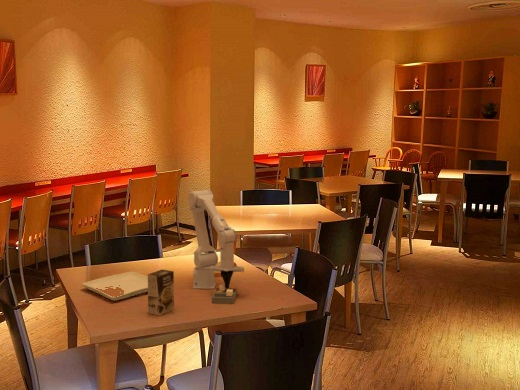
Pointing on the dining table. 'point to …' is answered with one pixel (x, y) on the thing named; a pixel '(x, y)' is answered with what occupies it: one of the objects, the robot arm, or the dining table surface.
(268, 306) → the dining table surface
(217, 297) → the switch board
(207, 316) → the dining table surface
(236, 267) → the robot arm
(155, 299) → the coffee box
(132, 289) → the square plate
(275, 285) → the dining table surface
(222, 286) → the tab
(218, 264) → the slice of bread
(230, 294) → the front tab
